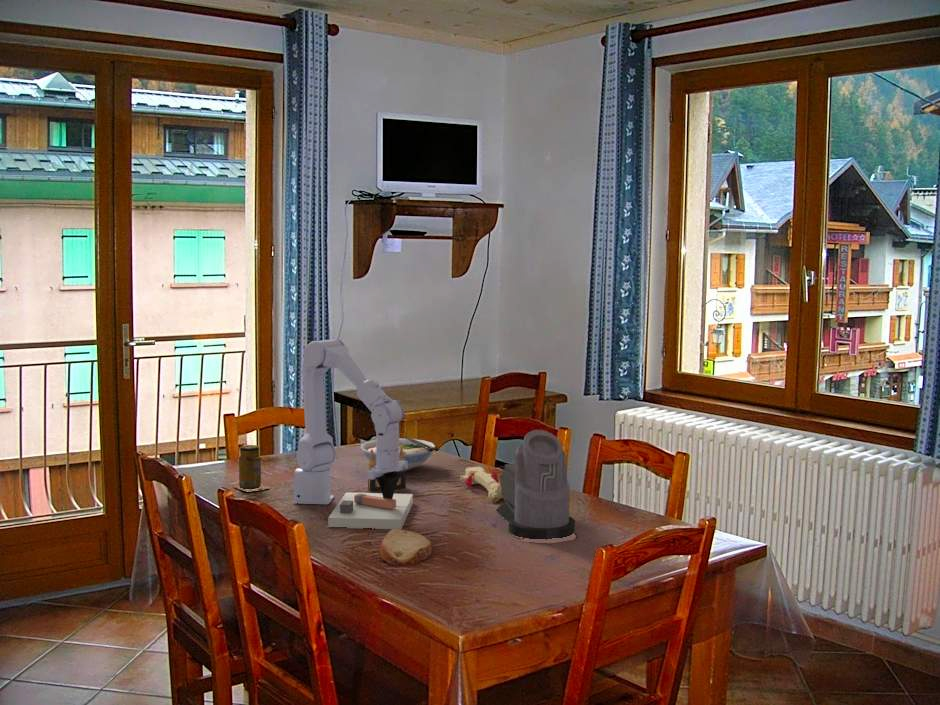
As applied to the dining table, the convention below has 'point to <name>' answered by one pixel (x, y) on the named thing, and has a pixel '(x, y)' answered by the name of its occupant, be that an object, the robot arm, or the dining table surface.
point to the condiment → (249, 467)
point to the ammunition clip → (374, 485)
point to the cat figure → (484, 482)
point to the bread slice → (404, 548)
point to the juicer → (537, 489)
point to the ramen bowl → (406, 450)
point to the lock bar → (375, 501)
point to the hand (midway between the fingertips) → (387, 501)
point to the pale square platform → (370, 513)
